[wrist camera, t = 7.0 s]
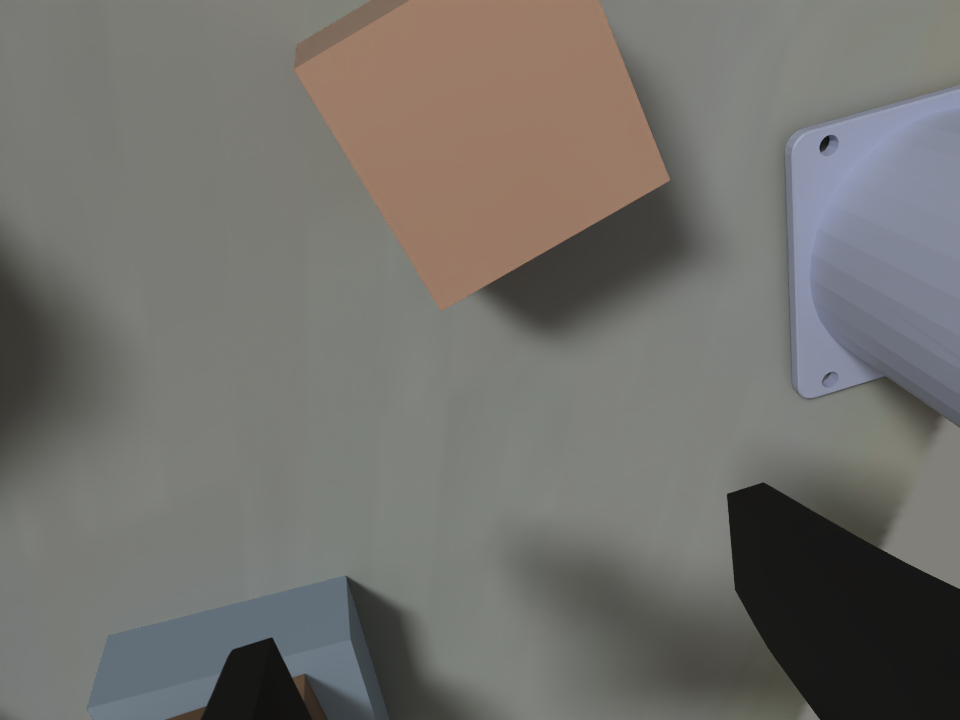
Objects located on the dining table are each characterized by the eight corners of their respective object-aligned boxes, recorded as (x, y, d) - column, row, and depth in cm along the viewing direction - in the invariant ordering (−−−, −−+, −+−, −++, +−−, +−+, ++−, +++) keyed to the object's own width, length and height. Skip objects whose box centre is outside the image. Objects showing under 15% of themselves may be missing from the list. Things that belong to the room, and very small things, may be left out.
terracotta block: (496, -75, 17) (563, -91, 13) (587, 132, 19) (670, 180, 15) (296, 44, 17) (293, 69, 13) (410, 234, 20) (440, 311, 15)
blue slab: (345, 566, 24) (350, 639, 21) (391, 718, 27) (400, 798, 25) (111, 625, 23) (86, 709, 21) (186, 774, 27) (174, 863, 24)
